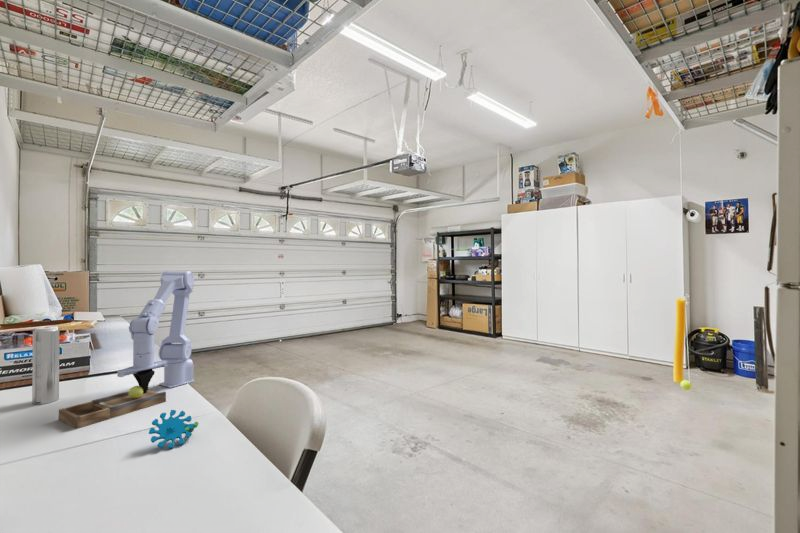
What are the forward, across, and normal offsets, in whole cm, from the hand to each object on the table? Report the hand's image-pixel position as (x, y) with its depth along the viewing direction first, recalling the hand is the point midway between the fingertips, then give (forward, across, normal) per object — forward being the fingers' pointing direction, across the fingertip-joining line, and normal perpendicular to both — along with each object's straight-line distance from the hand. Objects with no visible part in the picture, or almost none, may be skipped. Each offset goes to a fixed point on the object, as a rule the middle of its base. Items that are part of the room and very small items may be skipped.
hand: (143, 392), depth 122 cm
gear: (+3, +12, +37) cm, 39 cm away
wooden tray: (+3, +8, 0) cm, 8 cm away
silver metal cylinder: (+3, +15, -30) cm, 33 cm away
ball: (-1, +2, 0) cm, 2 cm away
